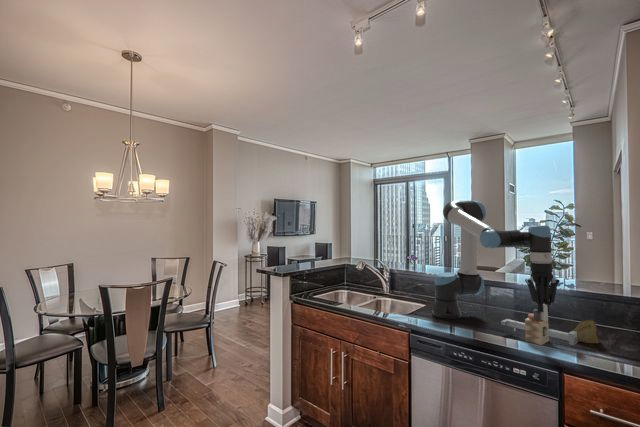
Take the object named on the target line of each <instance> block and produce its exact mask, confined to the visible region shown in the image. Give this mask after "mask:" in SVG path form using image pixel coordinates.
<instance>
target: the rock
mask: <svg viewBox="0 0 640 427" xmlns="http://www.w3.org/2000/svg"><path fill="white" fill-rule="evenodd" d="M571 331H575V332H577V343H578V342H579V343H587V344H588V343H589V344H599V343H600V337H599V333H598V332H599V331H598V330H597V326H596V322H595V320H591V319H586V320H582V321H579V322H578V324H577V325H576V327H574V329H572V330H571Z"/></svg>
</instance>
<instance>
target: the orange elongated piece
mask: <svg viewBox="0 0 640 427" xmlns="http://www.w3.org/2000/svg"><path fill="white" fill-rule="evenodd" d="M532 312H533V313H528V315H527V316H528V317H527V318H530V319H533V320H534V321H535V323H536V324H539V321H542V320H541V319H540V312H539V311H538V308H537V309H536V308H534V309H533V310H532Z"/></svg>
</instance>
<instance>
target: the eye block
mask: <svg viewBox="0 0 640 427" xmlns="http://www.w3.org/2000/svg"><path fill="white" fill-rule="evenodd" d="M524 323H525V330H524V331H525V332H524V333H525V342H529V343H532V344H536V345H540V346H542V345H544V344H546V343H548V342H550V336H547V335H543V327H544V328H548V329H550V328H549V320H548V321H544V320H542V321H539V324H536V323H535V321H534V320H533V319H530V318H528V317H527V318H525V319H524Z"/></svg>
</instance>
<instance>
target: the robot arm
mask: <svg viewBox="0 0 640 427" xmlns="http://www.w3.org/2000/svg"><path fill="white" fill-rule="evenodd" d="M442 215H443V217H444V220H446V221H447V222H448V223H450V224H452V225H457V226H458V227H460V252H459V254H460V255H459V256H460V261H459V268H458V269H457V271H456V272H451V271H449V272H447V271H446V272H440V273H437V274H436V275H435V277H434V303H433V307H432V310H431V311H432V312H431V313H432V315H433V317H437V318H441V319H446V320H447V319H448V320H455V319H460V318H462V311H461V308H460V306H459V303H458V297H464V296H466V297H467V296H477V295H480V294H482V292H483V291H484V288H485V281H484V278H483V277H482V275H481V274H480V272H479V270H477V268H478V266H477V264H478V263H477V262H478V239H479V242H480V244H481V246H482V247H484V248H486V249H487V248H488V249H497V248H498V249H499V248H501V249H502V248H529V261H530V264H529V265H530V273H531V274H530V277H529V278H525V279H524V282H525V283H526V284H527V286H528V290H529V294H530V296H531V301H532V302H534V303H535V304H536V303H537V304H536V305H537V309H538V311H539V312H540V319H541V320H544V321H548V322H549V312H550V306H551V305H552V303H553V304H554V303H555V298H556V294H557V288H558V285H559V284H560V279H557V278H555V277H554V274H553V272H554V269H553V268H554V267H553V263H552V262H553V255H552V254H553V253H552V232H551V228H550V225H529V226H528V230H527V229H526V230H523V229H521V230H519V229H514V230H512V229H511V230H500V229H499V230H498V229H496V228H494V227H492V226H490V225H489V224H487V223H485V222H483V221H484V220H485V218H486V216H487V210H486V207H485V206H484V204H483V203H482V202H480V201H479V200H478V201H477V200H453V201H450V202H447V203H446V204H445V205H444V207H443V210H442Z"/></svg>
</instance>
